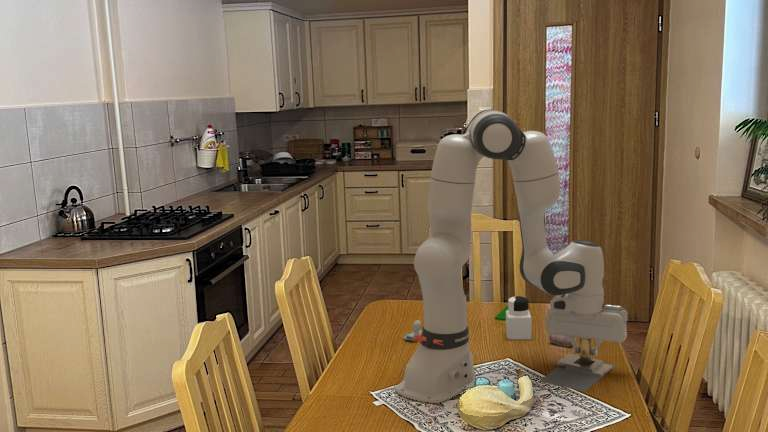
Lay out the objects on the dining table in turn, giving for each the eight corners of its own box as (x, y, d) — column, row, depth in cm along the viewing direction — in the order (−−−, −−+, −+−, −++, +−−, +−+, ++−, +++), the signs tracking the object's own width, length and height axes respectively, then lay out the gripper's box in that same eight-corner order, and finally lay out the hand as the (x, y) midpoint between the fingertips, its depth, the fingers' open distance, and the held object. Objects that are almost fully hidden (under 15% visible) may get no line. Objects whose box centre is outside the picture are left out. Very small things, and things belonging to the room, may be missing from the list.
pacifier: (399, 340, 218) (412, 344, 213) (398, 320, 217) (411, 324, 213) (416, 334, 223) (430, 338, 218) (415, 314, 222) (429, 318, 217)
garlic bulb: (573, 350, 204) (573, 323, 202) (547, 348, 206) (547, 321, 205) (575, 341, 211) (576, 315, 209) (550, 339, 213) (550, 313, 212)
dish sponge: (527, 314, 238) (527, 307, 238) (515, 327, 226) (515, 319, 226) (506, 312, 242) (506, 305, 241) (494, 324, 230) (494, 317, 229)
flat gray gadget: (601, 377, 180) (601, 371, 180) (557, 367, 187) (557, 361, 187) (611, 368, 186) (612, 362, 185) (568, 359, 193) (568, 353, 193)
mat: (584, 397, 172) (584, 391, 172) (539, 386, 180) (539, 380, 179) (615, 370, 188) (615, 365, 187) (572, 361, 195) (572, 356, 195)
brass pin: (590, 366, 184) (590, 336, 183) (578, 364, 185) (578, 335, 184) (592, 362, 187) (592, 332, 185) (581, 360, 188) (581, 331, 187)
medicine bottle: (529, 332, 220) (529, 294, 218) (531, 339, 213) (531, 301, 211) (505, 332, 221) (505, 294, 219) (507, 339, 214) (507, 301, 212)
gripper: (630, 303, 181) (629, 354, 183) (550, 295, 191) (550, 344, 193) (625, 310, 176) (624, 363, 178) (543, 301, 185) (544, 352, 188)
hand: (585, 353), depth 186 cm, fingers closed on brass pin, 3 cm apart
